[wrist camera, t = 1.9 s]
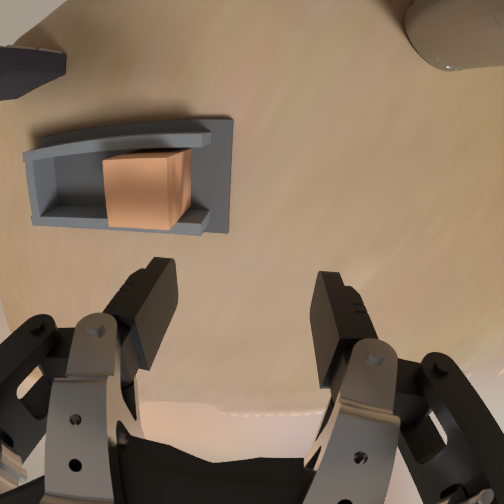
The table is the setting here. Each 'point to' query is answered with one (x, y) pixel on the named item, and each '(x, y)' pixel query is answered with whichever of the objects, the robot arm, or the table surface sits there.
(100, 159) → the chute
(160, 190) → the block
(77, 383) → the robot arm
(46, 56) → the dark grey upright box
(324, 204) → the table surface
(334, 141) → the table surface
